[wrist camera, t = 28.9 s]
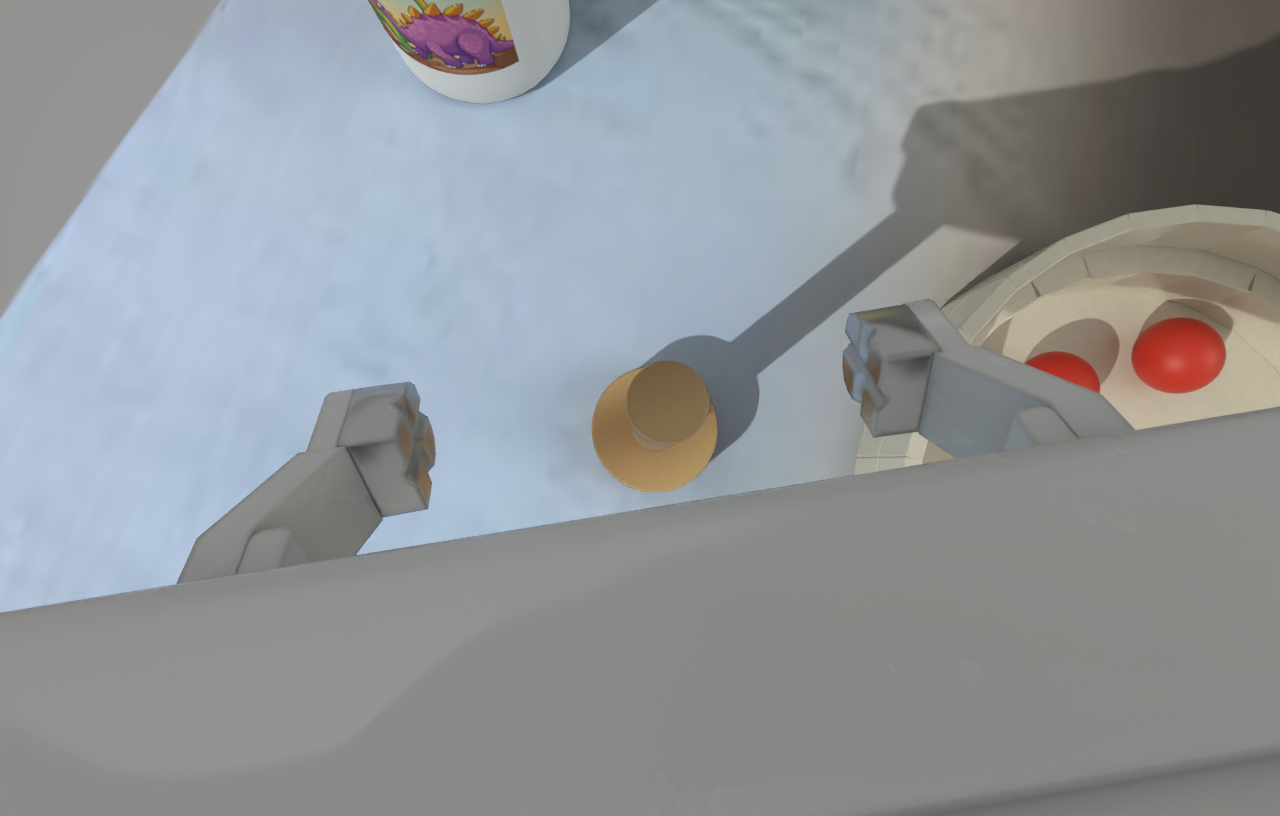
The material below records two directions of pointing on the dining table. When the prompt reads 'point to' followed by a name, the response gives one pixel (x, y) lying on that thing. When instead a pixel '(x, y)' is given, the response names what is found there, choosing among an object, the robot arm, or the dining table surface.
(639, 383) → the wooden peg stand
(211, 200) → the dining table surface
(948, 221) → the dining table surface
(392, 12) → the milk bottle
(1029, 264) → the bowl
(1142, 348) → the tomato
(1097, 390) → the tomato
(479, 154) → the dining table surface
